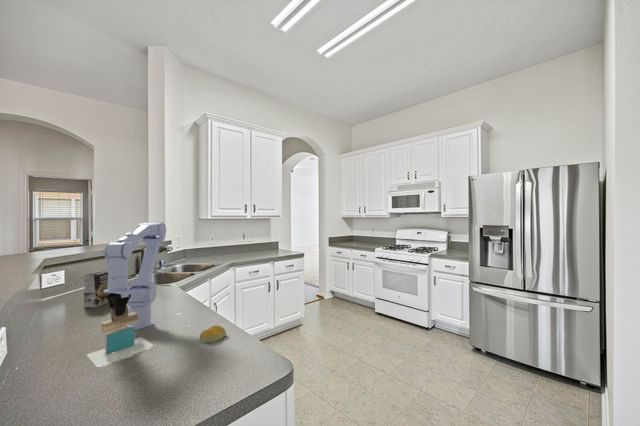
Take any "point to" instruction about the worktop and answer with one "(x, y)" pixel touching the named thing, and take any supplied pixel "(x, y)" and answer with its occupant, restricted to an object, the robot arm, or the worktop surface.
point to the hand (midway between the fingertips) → (117, 314)
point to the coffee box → (95, 289)
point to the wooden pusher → (119, 320)
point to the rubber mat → (118, 352)
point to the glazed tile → (119, 339)
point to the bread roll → (213, 334)
